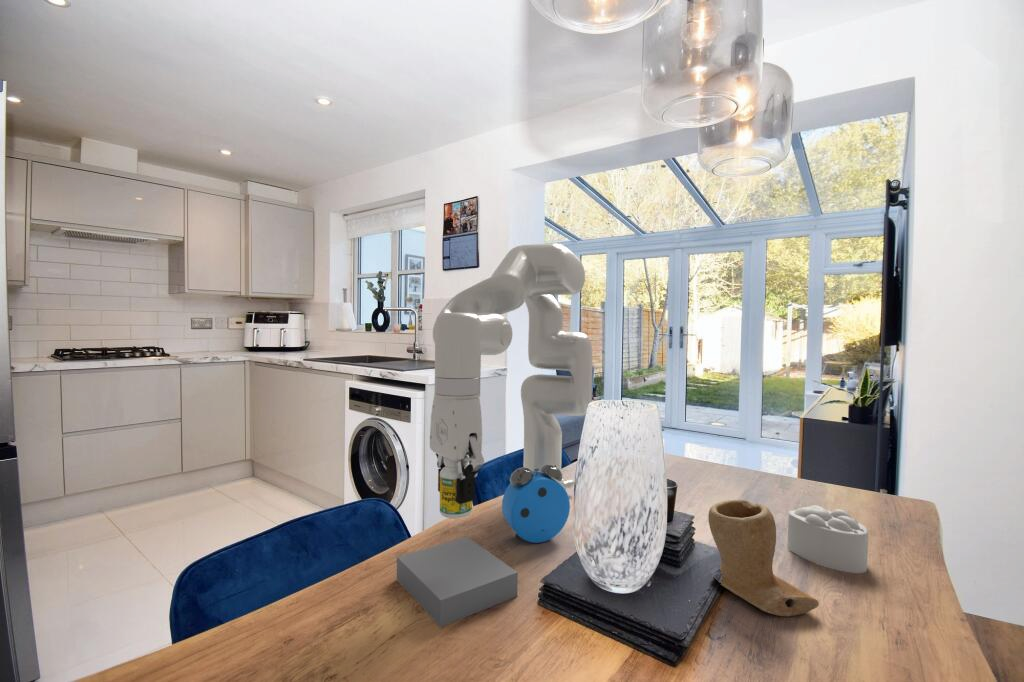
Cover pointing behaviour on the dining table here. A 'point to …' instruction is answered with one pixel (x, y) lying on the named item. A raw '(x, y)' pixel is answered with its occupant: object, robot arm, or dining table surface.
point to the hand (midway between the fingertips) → (456, 495)
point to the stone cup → (753, 558)
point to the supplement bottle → (451, 492)
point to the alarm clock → (536, 503)
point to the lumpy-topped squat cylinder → (828, 538)
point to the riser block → (456, 579)
